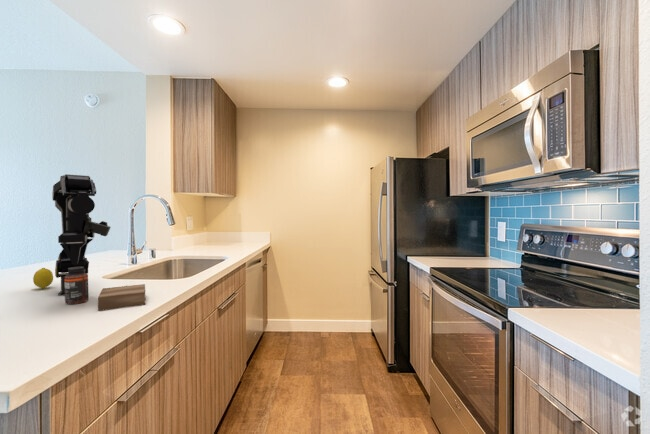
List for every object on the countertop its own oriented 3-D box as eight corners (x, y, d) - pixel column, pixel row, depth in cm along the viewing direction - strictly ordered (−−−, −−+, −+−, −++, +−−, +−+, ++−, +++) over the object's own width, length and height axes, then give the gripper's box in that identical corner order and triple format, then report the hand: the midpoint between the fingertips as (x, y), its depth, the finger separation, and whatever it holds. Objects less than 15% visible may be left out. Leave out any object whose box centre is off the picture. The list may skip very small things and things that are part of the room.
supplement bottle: (86, 298, 102) (85, 265, 102) (90, 301, 98) (90, 267, 98) (62, 302, 97) (62, 267, 97) (67, 306, 94) (66, 270, 93)
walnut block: (102, 300, 100) (102, 288, 100) (145, 295, 106) (145, 284, 106) (97, 311, 89) (97, 297, 89) (145, 304, 95) (144, 292, 95)
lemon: (50, 286, 118) (49, 265, 117) (55, 288, 115) (55, 267, 115) (31, 289, 113) (30, 268, 113) (36, 291, 110) (36, 269, 110)
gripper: (104, 214, 93) (105, 264, 93) (111, 213, 109) (111, 256, 110) (57, 214, 87) (58, 268, 88) (72, 213, 104) (72, 258, 104)
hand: (78, 262), depth 97 cm, fingers open, 9 cm apart
